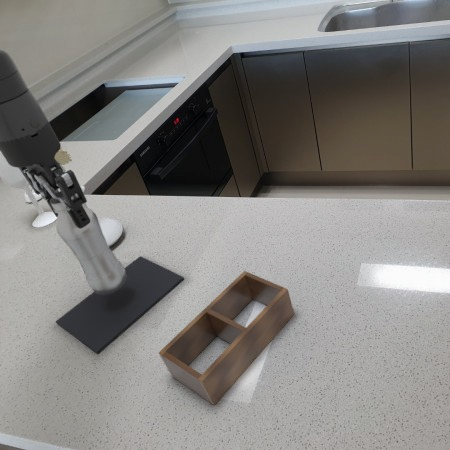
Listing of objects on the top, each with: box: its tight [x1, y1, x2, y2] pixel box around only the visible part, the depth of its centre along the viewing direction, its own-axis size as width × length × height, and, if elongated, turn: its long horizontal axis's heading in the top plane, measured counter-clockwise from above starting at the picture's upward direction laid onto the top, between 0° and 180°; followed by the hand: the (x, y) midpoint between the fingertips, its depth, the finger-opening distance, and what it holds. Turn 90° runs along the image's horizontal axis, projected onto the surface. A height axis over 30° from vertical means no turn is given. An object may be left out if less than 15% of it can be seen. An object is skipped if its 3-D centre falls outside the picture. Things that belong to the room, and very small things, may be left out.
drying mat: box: [55, 255, 185, 355], centre depth 87 cm, size 20×14×1 cm
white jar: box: [24, 186, 42, 203], centre depth 126 cm, size 5×3×5 cm
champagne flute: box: [0, 151, 57, 228], centre depth 110 cm, size 7×7×24 cm
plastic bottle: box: [50, 196, 127, 295], centre depth 79 cm, size 6×7×20 cm
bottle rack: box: [158, 270, 295, 406], centre depth 73 cm, size 19×10×6 cm, turn 143°
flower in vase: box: [55, 146, 124, 248], centre depth 97 cm, size 13×11×25 cm
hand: (73, 220), depth 76 cm, fingers closed on plastic bottle, 6 cm apart
